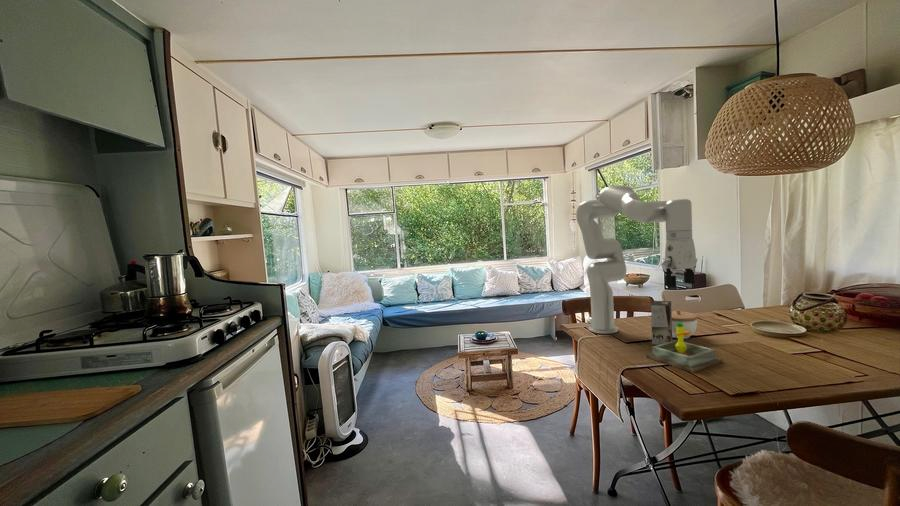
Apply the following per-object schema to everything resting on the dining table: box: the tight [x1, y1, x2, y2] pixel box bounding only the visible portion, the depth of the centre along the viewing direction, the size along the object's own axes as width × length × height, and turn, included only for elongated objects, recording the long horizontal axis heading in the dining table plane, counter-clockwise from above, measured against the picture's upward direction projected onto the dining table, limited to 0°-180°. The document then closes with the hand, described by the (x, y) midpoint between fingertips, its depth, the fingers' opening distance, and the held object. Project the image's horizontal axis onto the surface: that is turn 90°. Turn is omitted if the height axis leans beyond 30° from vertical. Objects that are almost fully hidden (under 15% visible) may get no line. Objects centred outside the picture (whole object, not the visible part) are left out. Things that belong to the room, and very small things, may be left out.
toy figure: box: [675, 322, 691, 356], centre depth 122 cm, size 7×4×12 cm, turn 102°
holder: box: [645, 339, 723, 374], centre depth 121 cm, size 16×16×4 cm
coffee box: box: [650, 300, 673, 346], centre depth 139 cm, size 9×6×16 cm
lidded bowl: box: [671, 309, 698, 340], centre depth 145 cm, size 13×13×11 cm
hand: (680, 285), depth 120 cm, fingers open, 9 cm apart
